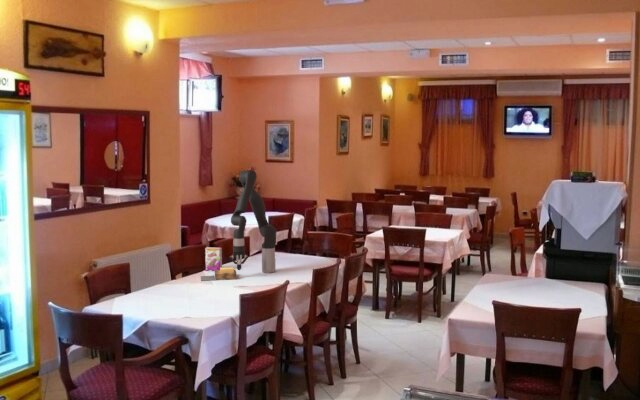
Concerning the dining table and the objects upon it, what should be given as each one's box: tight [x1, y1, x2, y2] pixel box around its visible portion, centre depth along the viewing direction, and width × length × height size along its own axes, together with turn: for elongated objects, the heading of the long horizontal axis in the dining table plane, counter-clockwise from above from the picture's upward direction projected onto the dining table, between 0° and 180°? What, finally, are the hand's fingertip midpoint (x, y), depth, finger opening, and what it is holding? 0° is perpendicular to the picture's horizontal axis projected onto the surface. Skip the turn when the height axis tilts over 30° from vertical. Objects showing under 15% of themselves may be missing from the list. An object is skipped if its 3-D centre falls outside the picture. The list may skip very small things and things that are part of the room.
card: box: [220, 266, 235, 273], centre depth 425 cm, size 9×6×2 cm, turn 102°
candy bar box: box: [204, 246, 223, 272], centre depth 449 cm, size 11×5×16 cm, turn 84°
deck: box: [214, 269, 238, 281], centre depth 425 cm, size 14×13×4 cm
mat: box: [200, 275, 216, 282], centre depth 423 cm, size 9×14×1 cm, turn 12°
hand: (239, 269), depth 427 cm, fingers closed
